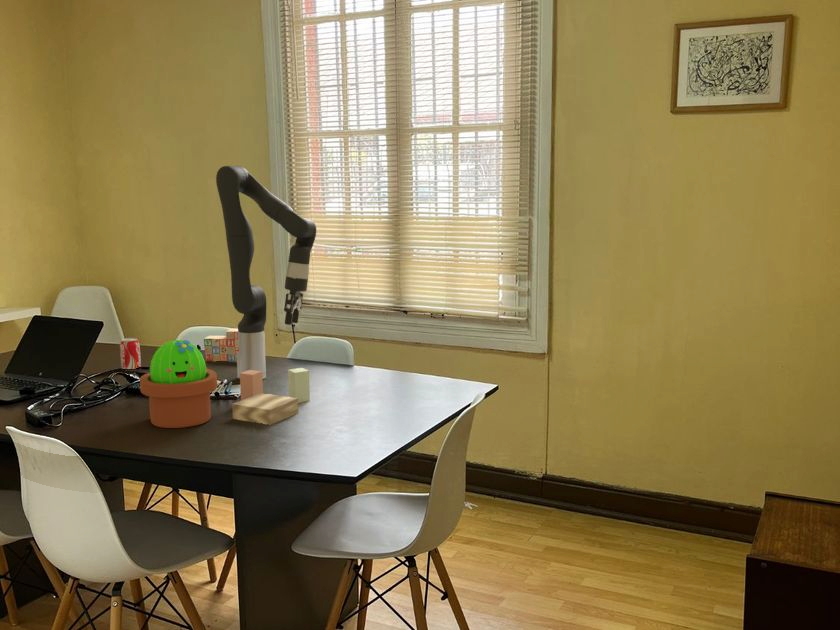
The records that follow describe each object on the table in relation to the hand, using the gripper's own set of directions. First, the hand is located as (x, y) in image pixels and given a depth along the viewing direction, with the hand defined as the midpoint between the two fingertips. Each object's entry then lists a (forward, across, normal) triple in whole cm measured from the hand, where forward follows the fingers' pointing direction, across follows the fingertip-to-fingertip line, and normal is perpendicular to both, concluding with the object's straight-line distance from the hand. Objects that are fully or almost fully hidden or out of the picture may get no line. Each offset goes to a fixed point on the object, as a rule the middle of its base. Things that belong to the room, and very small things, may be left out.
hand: (291, 323), depth 287 cm
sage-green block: (+23, +15, +10) cm, 29 cm away
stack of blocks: (+22, -40, -31) cm, 55 cm away
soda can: (+28, -19, -63) cm, 72 cm away
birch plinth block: (+26, +33, +4) cm, 42 cm away
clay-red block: (+25, +19, -5) cm, 32 cm away
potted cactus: (+30, +40, -20) cm, 53 cm away
